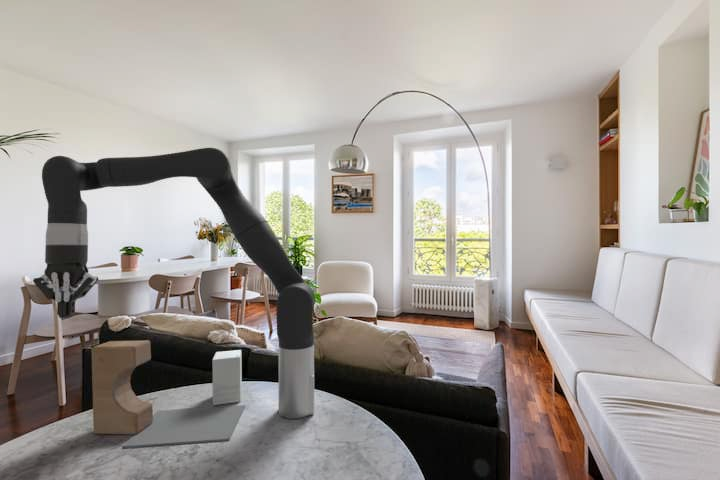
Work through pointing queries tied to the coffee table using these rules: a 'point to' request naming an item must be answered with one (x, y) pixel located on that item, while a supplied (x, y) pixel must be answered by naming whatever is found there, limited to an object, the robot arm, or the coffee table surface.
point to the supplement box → (227, 377)
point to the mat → (188, 426)
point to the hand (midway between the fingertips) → (65, 317)
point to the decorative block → (118, 388)
